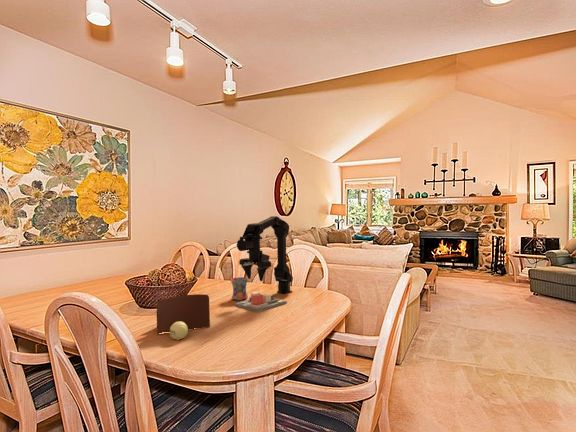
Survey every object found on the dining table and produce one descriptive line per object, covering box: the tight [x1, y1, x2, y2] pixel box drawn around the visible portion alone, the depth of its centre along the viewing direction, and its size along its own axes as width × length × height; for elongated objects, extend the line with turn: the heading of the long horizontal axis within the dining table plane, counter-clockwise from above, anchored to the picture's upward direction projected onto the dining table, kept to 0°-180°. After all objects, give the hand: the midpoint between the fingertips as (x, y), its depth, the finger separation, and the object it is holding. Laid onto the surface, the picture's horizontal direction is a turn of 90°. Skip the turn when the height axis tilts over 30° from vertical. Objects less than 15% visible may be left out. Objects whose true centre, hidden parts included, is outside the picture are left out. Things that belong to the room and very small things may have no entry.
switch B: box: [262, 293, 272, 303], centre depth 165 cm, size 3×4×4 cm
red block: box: [250, 293, 264, 306], centre depth 161 cm, size 4×4×5 cm
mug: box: [230, 276, 249, 301], centre depth 180 cm, size 12×9×11 cm
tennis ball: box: [169, 321, 189, 340], centre depth 125 cm, size 6×7×7 cm
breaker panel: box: [235, 296, 288, 313], centre depth 167 cm, size 19×17×3 cm
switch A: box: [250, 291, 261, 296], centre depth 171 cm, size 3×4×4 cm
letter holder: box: [156, 293, 211, 334], centre depth 137 cm, size 10×20×14 cm, turn 114°
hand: (255, 280), depth 168 cm, fingers open, 9 cm apart
